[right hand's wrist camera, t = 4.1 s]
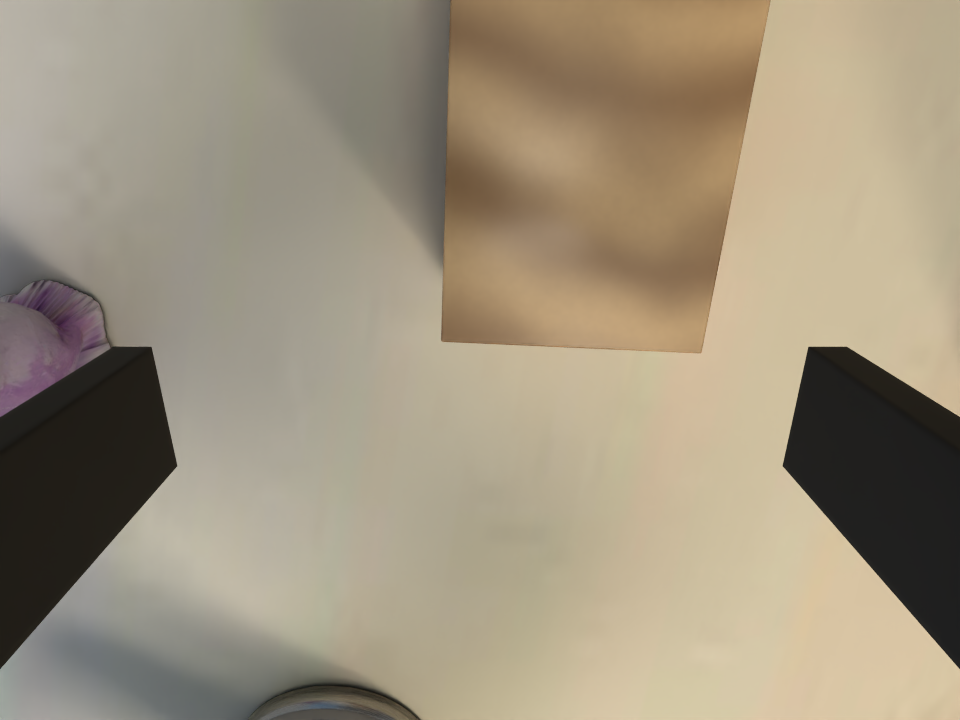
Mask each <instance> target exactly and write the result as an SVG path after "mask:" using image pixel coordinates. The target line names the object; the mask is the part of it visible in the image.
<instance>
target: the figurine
mask: <svg viewBox="0 0 960 720" xmlns="http://www.w3.org/2000/svg"><path fill="white" fill-rule="evenodd" d="M103 320H104V317H103V314H102V311H101V308H100V305H99V304H98V302H96V301H94V300H93V299H92V297H90V296H88V295H87V294H83V293H82V292H81V293H79V292H78V291H77V290H75V291H74V290H73V288H69V287H68V286H64V285H63V284H59V283H58V282H52V281H51V280H50V281H46V280H41V281H35V282H33V283H30V284H29V285H27V286H26V287H24V288H23V289H22V291H21V292H20V293H19V294H18V295H16V294H12V295H5V296H3V297H1V298H0V417H1V416H3V415H4V414H6V413H8V412H9V411H11V410H12V409H14V408H16V407H17V406H19V405H20V404H22V403H24V402H25V401H27V400H28V399H30V398H32V397H33V396H35V395H37V394H38V393H40V392H41V391H43V390H45V389H46V388H48V387H49V386H51V385H53V384H54V383H56V382H57V381H59V380H61V379H62V378H64V377H66V376H67V375H69V374H70V373H72V372H74V371H75V370H77V369H78V368H80V367H82V366H83V365H85V364H86V363H88V362H90V361H91V360H93V359H94V358H96V357H98V356H99V355H101V354H103V353H104V352H106V351H107V350H109V349H111V347H110V345H109V343H108V340H107V338H106V337H105V335H106V333H105V330H104V322H103Z"/></svg>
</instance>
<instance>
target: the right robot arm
mask: <svg viewBox="0 0 960 720" xmlns="http://www.w3.org/2000/svg"><path fill="white" fill-rule="evenodd" d="M176 467H177V462H176V458H175V453H174V449H173V444H172V439H171V435H170V430H169V425H168V421H167V416H166V412H165V407H164V402H163V398H162V393H161V389H160V384H159V379H158V375H157V370H156V365H155V361H154V356H153V352H152V347H112V348H111V349H109V350H107V351H106V352H104V353H103V354H101V355H99V356H98V357H96V358H94V359H93V360H91V361H90V362H88V363H86V364H85V365H83V366H82V367H80V368H78V369H77V370H75V371H74V372H72V373H70V374H69V375H67V376H66V377H64V378H62V379H61V380H59V381H57V382H56V383H54V384H53V385H51V386H49V387H48V388H46V389H45V390H43V391H41V392H40V393H38V394H37V395H35V396H33V397H32V398H30V399H28V400H27V401H25V402H24V403H22V404H20V405H19V406H17V407H16V408H14V409H12V410H11V411H9V412H8V413H6V414H4V415H3V416H1V417H0V669H1V667H2V666H3V665H4V664H5V663H6V662H7V661H8V659H9V658H10V657H11V656H12V655H13V654H14V653H15V651H16V650H17V649H18V648H19V647H20V646H21V645H22V643H23V642H24V641H25V640H26V639H27V638H28V637H29V635H30V634H31V633H32V632H33V631H34V630H35V629H36V627H37V626H38V625H39V624H40V623H41V622H42V620H43V619H44V618H45V617H46V616H47V615H48V614H49V612H50V611H51V610H52V609H53V608H54V607H55V606H56V604H57V603H58V602H59V601H60V600H61V599H62V598H63V596H64V595H65V594H66V593H67V592H68V591H69V590H70V588H71V587H72V586H73V585H74V584H75V583H76V582H77V580H78V579H79V578H80V577H81V576H82V575H83V573H84V572H85V571H86V570H87V569H88V568H89V567H90V565H91V564H92V563H93V562H94V561H95V560H96V559H97V557H98V556H99V555H100V554H101V553H102V552H103V551H104V549H105V548H106V547H107V546H108V545H109V544H110V543H111V541H112V540H113V539H114V538H115V537H116V536H117V535H118V533H119V532H120V531H121V530H122V529H123V528H124V526H125V525H126V524H127V523H128V522H129V521H130V520H131V518H132V517H133V516H134V515H135V514H136V513H137V512H138V510H139V509H140V508H141V507H142V506H143V505H144V504H145V502H146V501H147V500H148V499H149V498H150V497H151V496H152V494H153V493H154V492H155V491H156V490H157V489H158V488H159V486H160V485H161V484H162V483H163V482H164V481H165V479H166V478H167V477H168V476H169V475H170V474H171V473H172V471H173V470H174V469H175V468H176ZM783 467H784V468H785V469H786V470H787V471H788V473H789V474H790V475H791V476H792V477H793V478H794V479H795V481H796V482H797V483H798V484H799V485H800V486H801V488H802V489H803V490H804V491H805V492H806V493H807V494H808V496H809V497H810V498H811V499H812V500H813V501H814V502H815V504H816V505H817V506H818V507H819V508H820V509H821V510H822V512H823V513H824V514H825V515H826V516H827V517H828V518H829V520H830V521H831V522H832V523H833V524H834V525H835V526H836V528H837V529H838V530H839V531H840V532H841V533H842V535H843V536H844V537H845V538H846V539H847V540H848V541H849V543H850V544H851V545H852V546H853V547H854V548H855V549H856V551H857V552H858V553H859V554H860V555H861V556H862V557H863V559H864V560H865V561H866V562H867V563H868V564H869V565H870V567H871V568H872V569H873V570H874V571H875V572H876V573H877V575H878V576H879V577H880V578H881V579H882V580H883V582H884V583H885V584H886V585H887V586H888V587H889V588H890V590H891V591H892V592H893V593H894V594H895V595H896V596H897V598H898V599H899V600H900V601H901V602H902V603H903V604H904V606H905V607H906V608H907V609H908V610H909V611H910V612H911V614H912V615H913V616H914V617H915V618H916V619H917V620H918V622H919V623H920V624H921V625H922V626H923V627H924V629H925V630H926V631H927V632H928V633H929V634H930V635H931V637H932V638H933V639H934V640H935V641H936V642H937V643H938V645H939V646H940V647H941V648H942V649H943V650H944V651H945V653H946V654H947V655H948V656H949V657H950V658H951V659H952V661H953V662H954V663H955V664H956V665H957V666H958V667H959V669H960V417H959V416H957V415H956V414H954V413H952V412H951V411H949V410H948V409H946V408H944V407H943V406H941V405H940V404H938V403H936V402H935V401H933V400H931V399H930V398H928V397H927V396H925V395H923V394H922V393H920V392H919V391H917V390H915V389H914V388H912V387H911V386H909V385H907V384H906V383H904V382H903V381H901V380H899V379H898V378H896V377H894V376H893V375H891V374H890V373H888V372H886V371H885V370H883V369H882V368H880V367H878V366H877V365H875V364H874V363H872V362H870V361H869V360H867V359H866V358H864V357H862V356H861V355H859V354H857V353H856V352H854V351H853V350H851V349H849V348H848V347H808V352H807V356H806V361H805V365H804V370H803V375H802V379H801V384H800V389H799V393H798V398H797V402H796V407H795V412H794V416H793V421H792V425H791V430H790V435H789V439H788V444H787V449H786V453H785V458H784V462H783ZM248 720H418V719H417V718H416V717H415V716H414V715H413V714H411V713H410V712H409V711H408V710H407V709H405V708H404V707H402V706H401V705H399V704H397V703H395V702H394V701H392V700H390V699H388V698H385V697H383V696H381V695H378V694H375V693H373V692H369V691H366V690H362V689H357V688H351V687H344V686H314V687H307V688H301V689H297V690H293V691H290V692H287V693H284V694H281V695H279V696H277V697H275V698H273V699H271V700H269V701H267V702H266V703H265V704H263V705H262V706H260V707H259V708H258V709H257V710H256V711H255V712H254V713H253V714H252V715H251V716H250V717H249V719H248Z"/></svg>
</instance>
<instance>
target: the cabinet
mask: <svg viewBox="0 0 960 720" xmlns="http://www.w3.org/2000/svg"><path fill="white" fill-rule="evenodd" d="M769 5H770V0H450V31H449V69H448V106H447V143H446V181H445V218H444V255H443V293H442V330H441V341H442V342H461V343H483V344H505V345H527V346H550V347H572V348H594V349H616V350H639V351H661V352H683V353H701V352H702V346H703V341H704V336H705V331H706V326H707V321H708V316H709V311H710V306H711V301H712V296H713V290H714V285H715V280H716V275H717V270H718V265H719V260H720V255H721V250H722V245H723V239H724V234H725V229H726V224H727V219H728V214H729V209H730V204H731V199H732V194H733V189H734V183H735V178H736V173H737V168H738V163H739V158H740V153H741V148H742V143H743V138H744V132H745V127H746V122H747V117H748V112H749V107H750V102H751V97H752V92H753V87H754V82H755V76H756V71H757V66H758V61H759V56H760V51H761V46H762V41H763V36H764V31H765V25H766V20H767V15H768V10H769Z"/></svg>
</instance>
